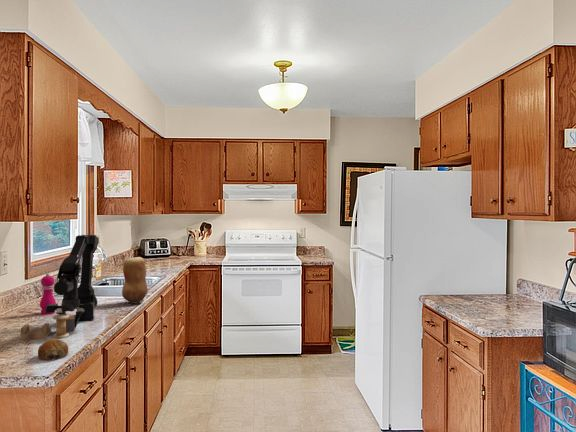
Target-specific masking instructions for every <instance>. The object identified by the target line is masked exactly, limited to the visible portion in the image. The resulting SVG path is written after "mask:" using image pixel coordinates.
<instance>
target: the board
mask: <svg viewBox="0 0 576 432" xmlns="http://www.w3.org/2000/svg"><path fill="white" fill-rule="evenodd" d="M51 333H52V327H51V326H50V323H46V322H45V323H44V324H43V325H42V326H41V327H30V324H27V323H25V324H24V325H23V326H22V327H20V340H21V341H22V340H37V339H38V340H39V339H40V340H41V339H46V338H47V337H48V336H50V335H49V334H51Z"/></svg>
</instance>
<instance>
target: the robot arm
mask: <svg viewBox="0 0 576 432" xmlns="http://www.w3.org/2000/svg"><path fill="white" fill-rule="evenodd" d="M99 242H100V240H99V237H98V236H97V235H96V234H79V235H78V234H77V235H76V237H75V242H74V244H73V245H72V248H71V251H70V253H69V255H68V256H67V257H65V258H64V259H63V261H62V262H61V264H59V269H58V273H57V277H56V279H57V280H58V281H57V282H56V283H54V285H53V289H54V290H53V292H55V294H56V295H59V296H63V297H62V301H61V304H60V305H59V304H58V303H56V304H49V305H48V306H47V307H46V313H53V312H54V311H55V315H60V314H67V313H66V312H74V311H75V310H76V311H75V315H76V318H75V327H76V328H77V325H78V322H84V321H85V322H86V321H87V322H88V321H94V320H95V308H96V307H98V299H97V296H96V294H95V289H94V287H93V285H92V276H93V264H94V263H93V261H94V253H96V251H97V250H98V245H99ZM79 277H80V283H79V282H78V279H79ZM78 283H79V284H78ZM78 285H79V286H78Z"/></svg>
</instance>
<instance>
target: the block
mask: <svg viewBox="0 0 576 432" xmlns="http://www.w3.org/2000/svg"><path fill="white" fill-rule="evenodd" d="M68 315H69V318H67V319H66V332H74V331H76V330H77V326H76V327H75V318H76V314H68Z"/></svg>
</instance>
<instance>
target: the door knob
mask: <svg viewBox="0 0 576 432" xmlns="http://www.w3.org/2000/svg"><path fill="white" fill-rule="evenodd" d="M69 315H70V314H67V313H66V314H60V315H59V314H55V315H53V316H52V320H55V327H56V329H55V331H56V332H55V333H54V334H53V335H52V339H54V338H55V339H65V338H68V337H70V333H69V332H67V331H66V319H67V318H69Z"/></svg>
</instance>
